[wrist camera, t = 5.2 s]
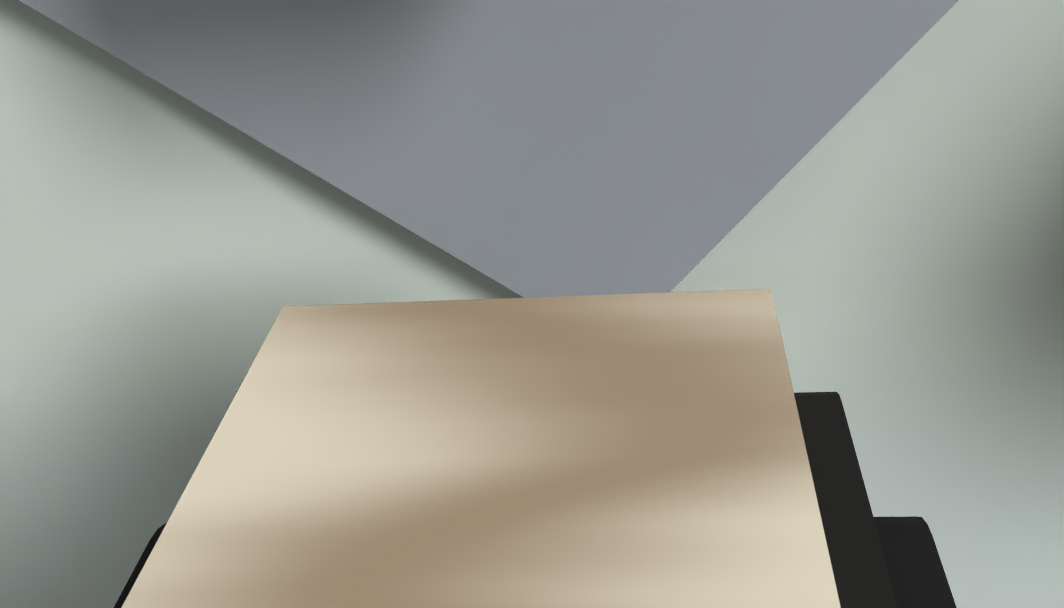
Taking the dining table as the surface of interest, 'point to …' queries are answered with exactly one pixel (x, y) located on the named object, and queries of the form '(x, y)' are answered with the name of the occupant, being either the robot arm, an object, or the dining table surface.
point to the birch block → (506, 462)
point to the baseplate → (528, 111)
